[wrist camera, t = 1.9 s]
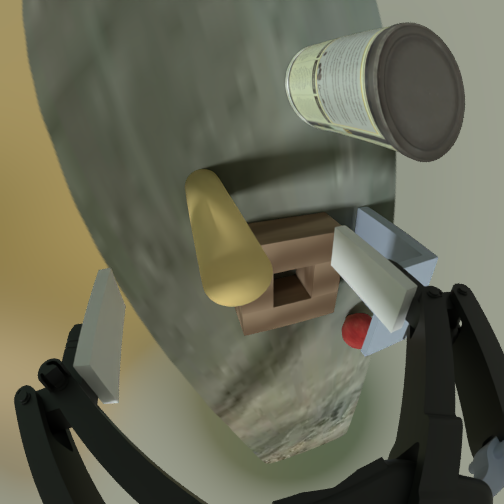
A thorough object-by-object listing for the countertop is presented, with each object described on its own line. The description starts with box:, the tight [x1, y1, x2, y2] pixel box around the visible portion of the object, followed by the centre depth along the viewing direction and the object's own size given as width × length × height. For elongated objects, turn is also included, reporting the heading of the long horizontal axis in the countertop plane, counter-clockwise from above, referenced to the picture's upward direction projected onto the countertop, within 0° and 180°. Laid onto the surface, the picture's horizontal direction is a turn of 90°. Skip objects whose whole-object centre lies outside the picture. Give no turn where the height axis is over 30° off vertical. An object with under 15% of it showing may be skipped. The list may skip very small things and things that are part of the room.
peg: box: [185, 169, 273, 306], centre depth 20 cm, size 4×4×16 cm
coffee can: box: [285, 23, 465, 162], centre depth 19 cm, size 10×10×14 cm
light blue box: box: [355, 207, 438, 356], centre depth 31 cm, size 12×7×13 cm, turn 3°
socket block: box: [235, 212, 341, 336], centre depth 32 cm, size 12×12×5 cm
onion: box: [342, 313, 372, 349], centre depth 41 cm, size 6×6×8 cm
